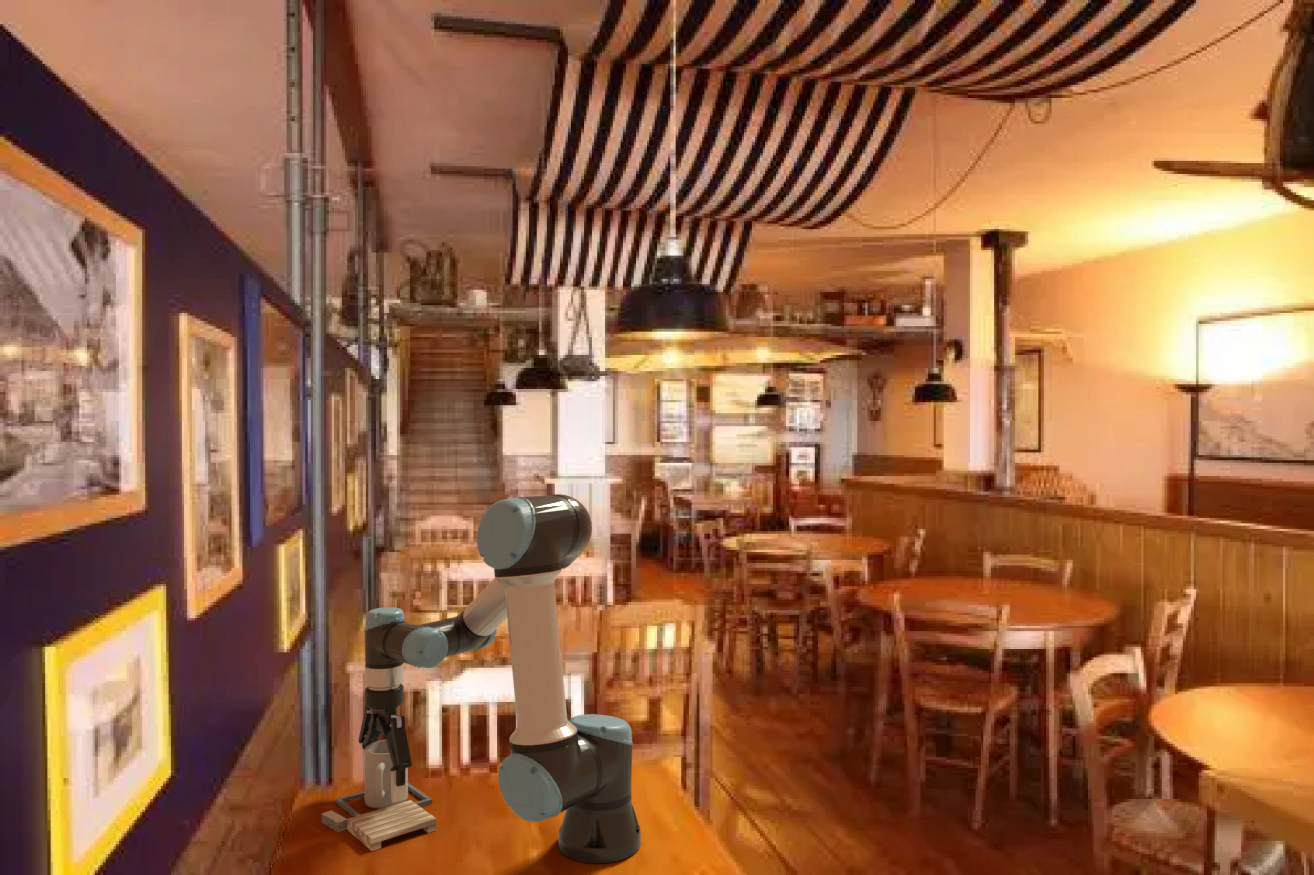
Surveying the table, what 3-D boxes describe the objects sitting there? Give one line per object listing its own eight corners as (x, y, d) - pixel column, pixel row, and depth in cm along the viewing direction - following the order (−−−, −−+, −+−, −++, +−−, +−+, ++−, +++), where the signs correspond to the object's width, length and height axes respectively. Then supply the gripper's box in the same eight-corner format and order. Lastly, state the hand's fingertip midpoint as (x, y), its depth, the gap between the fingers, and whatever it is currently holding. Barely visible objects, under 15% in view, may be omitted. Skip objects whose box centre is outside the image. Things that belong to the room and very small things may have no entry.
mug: (369, 792, 185) (369, 739, 185) (411, 790, 186) (411, 738, 186) (355, 817, 173) (355, 761, 173) (400, 815, 174) (400, 760, 174)
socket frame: (432, 803, 180) (432, 799, 180) (361, 824, 170) (361, 820, 170) (404, 783, 190) (404, 780, 190) (335, 802, 180) (335, 798, 180)
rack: (436, 830, 168) (436, 818, 168) (371, 851, 159) (371, 838, 159) (410, 810, 176) (410, 799, 176) (347, 829, 168) (347, 818, 168)
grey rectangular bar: (347, 829, 168) (347, 819, 168) (337, 833, 167) (337, 822, 167) (331, 820, 172) (331, 810, 172) (321, 824, 171) (321, 813, 171)
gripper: (429, 695, 173) (429, 804, 173) (376, 669, 191) (376, 767, 192) (393, 703, 168) (392, 815, 168) (342, 675, 186) (342, 776, 187)
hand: (384, 790), depth 180 cm, fingers open, 12 cm apart
